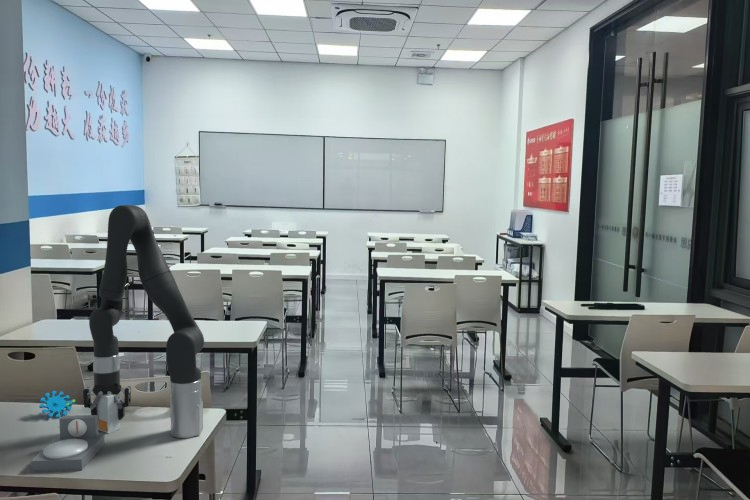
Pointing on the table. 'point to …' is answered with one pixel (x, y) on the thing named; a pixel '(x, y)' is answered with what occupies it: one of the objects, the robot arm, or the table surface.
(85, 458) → the dial scale
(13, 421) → the table surface
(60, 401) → the gear
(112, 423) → the skincare box
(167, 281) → the robot arm
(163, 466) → the table surface
